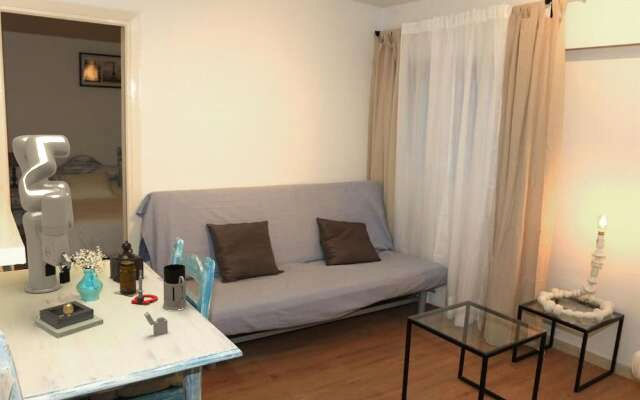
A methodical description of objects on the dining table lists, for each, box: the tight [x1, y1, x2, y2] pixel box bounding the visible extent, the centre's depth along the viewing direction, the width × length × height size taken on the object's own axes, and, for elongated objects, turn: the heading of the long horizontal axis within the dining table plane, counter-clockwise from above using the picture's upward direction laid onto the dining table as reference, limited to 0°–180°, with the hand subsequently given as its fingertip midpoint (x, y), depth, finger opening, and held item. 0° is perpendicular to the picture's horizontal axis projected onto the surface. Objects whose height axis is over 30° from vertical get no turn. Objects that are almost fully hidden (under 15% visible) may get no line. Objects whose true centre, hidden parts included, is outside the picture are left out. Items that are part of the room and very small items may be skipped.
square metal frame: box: [38, 300, 95, 329], centre depth 168 cm, size 12×12×3 cm
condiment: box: [114, 261, 145, 297], centre depth 198 cm, size 7×8×12 cm
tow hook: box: [130, 270, 159, 306], centre depth 190 cm, size 8×13×9 cm
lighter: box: [143, 311, 169, 336], centre depth 162 cm, size 7×2×8 cm, turn 128°
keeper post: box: [63, 302, 74, 316], centre depth 168 cm, size 3×3×6 cm
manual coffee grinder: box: [109, 240, 145, 284], centre depth 212 cm, size 16×11×18 cm
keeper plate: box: [33, 312, 104, 339], centre depth 168 cm, size 16×15×2 cm
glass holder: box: [162, 263, 188, 311], centre depth 183 cm, size 9×14×15 cm, turn 34°
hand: (57, 279), depth 170 cm, fingers open, 9 cm apart
